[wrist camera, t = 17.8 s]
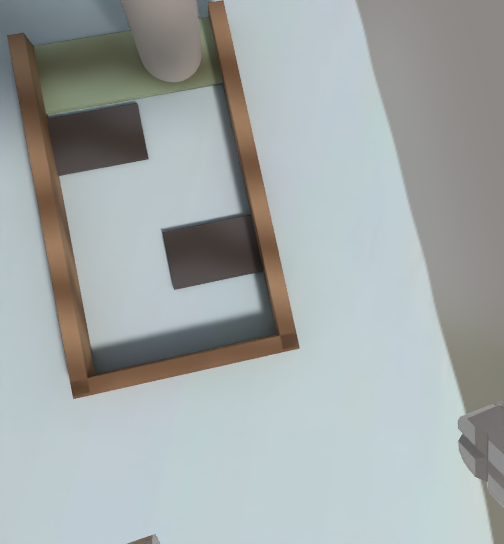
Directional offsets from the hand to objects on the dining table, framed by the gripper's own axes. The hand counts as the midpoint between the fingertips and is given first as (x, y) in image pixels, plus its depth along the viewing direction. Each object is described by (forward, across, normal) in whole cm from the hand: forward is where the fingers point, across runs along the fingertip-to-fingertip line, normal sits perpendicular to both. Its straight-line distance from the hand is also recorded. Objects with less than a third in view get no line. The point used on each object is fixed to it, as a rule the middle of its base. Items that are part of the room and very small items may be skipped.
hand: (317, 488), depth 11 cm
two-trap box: (+28, +2, -3) cm, 28 cm away
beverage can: (+32, -2, -12) cm, 34 cm away
